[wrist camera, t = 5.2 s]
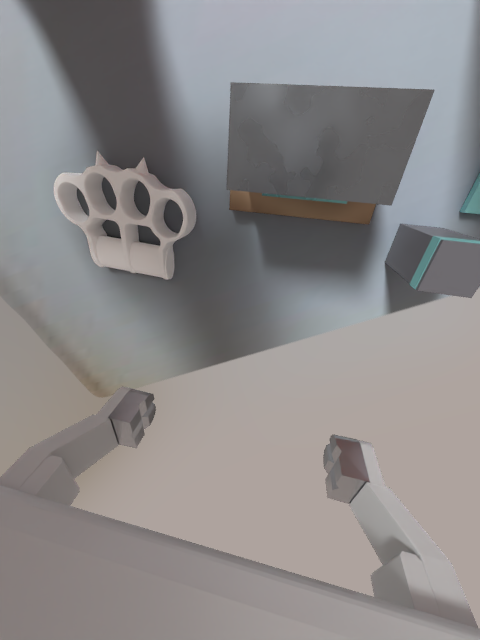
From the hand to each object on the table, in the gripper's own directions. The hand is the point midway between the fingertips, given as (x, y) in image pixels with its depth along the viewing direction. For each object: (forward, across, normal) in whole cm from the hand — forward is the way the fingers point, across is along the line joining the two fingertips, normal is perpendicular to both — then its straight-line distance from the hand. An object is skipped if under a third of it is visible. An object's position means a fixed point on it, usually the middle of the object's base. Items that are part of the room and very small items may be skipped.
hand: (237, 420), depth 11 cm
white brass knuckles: (+26, +20, -3) cm, 33 cm away
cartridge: (+25, -16, -4) cm, 30 cm away
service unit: (+24, -2, -11) cm, 26 cm away
